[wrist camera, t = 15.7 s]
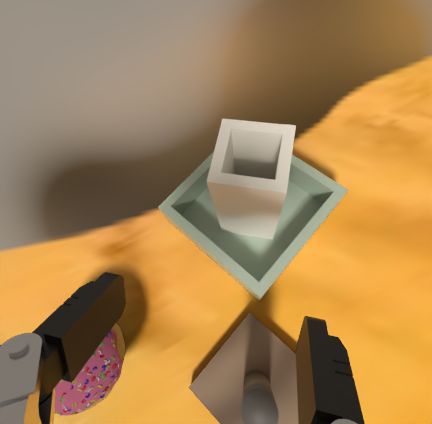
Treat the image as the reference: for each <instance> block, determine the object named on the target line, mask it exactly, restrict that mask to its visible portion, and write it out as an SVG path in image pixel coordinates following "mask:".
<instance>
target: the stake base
mask: <svg viewBox="0 0 432 424" xmlns="http://www.w3.org/2000/svg"><path fill="white" fill-rule="evenodd" d="M189 388H190V390H191V391H192V392H193V393H194V394H195V395H196V396H197V398H198V399H199V400H200V401H201V402H202V403H203V404H204V406H205V407H206V408H207V409H208V410H209V411H210V412H211V414H212V415H213V416H214V417H215V418H216V419H217V420H218V422H219V423H220V424H299V423H298V399H297V375H296V354H295V353H294V352H293V351H292V350H291V349H290V348H289V347H288V346H287V345H285V344H284V343H283V342H282V341H281V340H280V339H279V338H278V337H277V336H276V335H275V334H273V333H272V332H271V331H270V330H269V329H268V328H267V327H266V326H265V325H264V324H263V323H261V322H260V321H259V320H258V319H257V318H256V317H255V316H254V315H253V314H252V313H251V312H250V313H249V314H248V315H247V316H246V318H245V319H244V320H243V321H242V322H241V324H240V325H239V326H238V327H237V329H236V330H235V331H234V332H233V334H232V335H231V336H230V337H229V339H228V340H227V341H226V342H225V343H224V345H223V346H222V347H221V348H220V350H219V351H218V352H217V353H216V355H215V356H214V357H213V358H212V359H211V361H210V362H209V363H208V364H207V366H206V367H205V368H204V369H203V371H202V372H201V373H200V374H199V375H198V377H197V378H196V379H195V380H194V382H193V383H192V384H191V385H190V387H189Z"/></svg>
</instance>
